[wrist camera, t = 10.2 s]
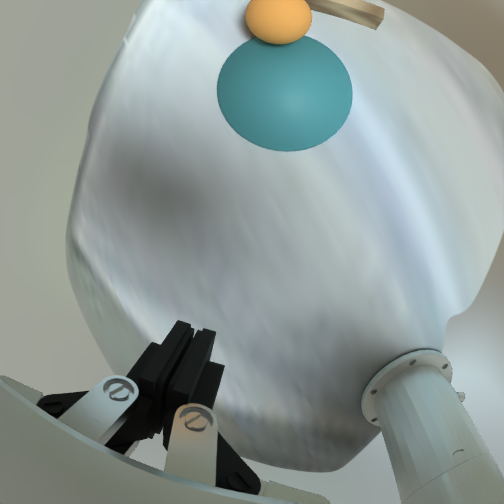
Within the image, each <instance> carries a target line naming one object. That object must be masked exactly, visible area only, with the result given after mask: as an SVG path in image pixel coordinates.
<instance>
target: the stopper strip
mask: <svg viewBox="0 0 504 504" xmlns="http://www.w3.org/2000/svg"><path fill="white" fill-rule="evenodd" d="M305 1H306V3H307V4H308V6H309V8H310V9H311V10H315V11H319V12H323V13H326V14H330V15H333V16H337V17H340V18H343V19H347V20H350V21H353V22H356V23H359V24H361V25H364V26H367V27H370V28H372V29H375V30H376V29H377V28H378V26H379V25H380V23H381V22H382V20H383V18H384V8H381V7H379V6H376V5H373V4H371V3H368V2H365V1H362V0H305Z"/></svg>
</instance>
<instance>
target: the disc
mask: <svg viewBox="0 0 504 504" xmlns="http://www.w3.org/2000/svg"><path fill="white" fill-rule="evenodd" d="M217 95H218V101H219V105H220V108H221V111H222V113H223V115H224V117H225V118H226V120H227V121H228V123H229V124H230V125H231V127H232V128H233V129H234V130H235V131H236V132H237V133H238V134H240V135H241V136H242V137H243V138H245V139H247V140H248V141H250V142H252V143H254V144H256V145H258V146H260V147H264V148H267V149H271V150H276V151H299V150H305V149H308V148H311V147H314V146H317V145H319V144H321V143H323V142H324V141H326V140H328V139H329V138H330V137H332V136H333V135H334V134H335V133H336V132H337V131H338V130H339V129H340V128H341V126H342V125H343V124H344V122H345V121H346V119H347V116H348V114H349V112H350V108H351V104H352V85H351V80H350V77H349V74H348V72H347V70H346V68H345V66H344V65H343V63H342V62H341V60H340V59H339V58H338V57H337V55H336V54H335V53H334V52H332V51H331V50H330V49H329V48H328V47H326V46H325V45H324V44H322V43H320V42H318V41H317V40H314V39H312V38H310V37H307V36H303V37H302V38H300V39H299V40H297V41H294V42H292V43H288V44H272V43H268V42H265V41H263V40H261V39H259V38H258V37H255V38H253V39H251V40H249V41H247V42H245V43H244V44H242V45H241V46H239V47H238V48H237V49H236V50H235V51H234V52H233V53H232V54H231V55H230V56H229V57H228V59H227V60H226V62H225V63H224V65H223V67H222V69H221V72H220V74H219V79H218V85H217Z"/></svg>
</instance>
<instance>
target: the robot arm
mask: <svg viewBox="0 0 504 504" xmlns="http://www.w3.org/2000/svg"><path fill="white" fill-rule="evenodd" d="M193 335H194V328H191V324H189V323H186V322H183V321H180V320H178V321H177V322H176V324H175V325H174V327H173V328H172V329H171V331H170V332H169V334H168V335H167V337H166V338H165V340H164V341H163V342H162V344H161V345H159V344H157V343H154V342H152V343H151V344H150V345H149V346H148V347H147V349H146V350H145V351H144V353H143V354H142V355H141V357H140V358H139V359H138V361H137V362H136V363H135V365H134V366H133V368H132V369H131V370H130V372H129V373H128V374H127V376H126V377H124V376H119V375H114V376H109V377H106V378H105V379H103V380H102V381H101V382H99V383H98V384H97V385H96V386H95V387H94V388H93V389H92V390H91V391H83V392H73V393H63V394H52V395H46V396H43V394H42V392H39V391H37V390H35V389H33V388H30V387H28V386H26V385H24V384H22V383H19V382H17V381H15V380H13V379H11V378H9V377H6V376H0V504H330V502H329V501H328V500H327V499H326V498H325V497H323V496H321V495H319V494H314V493H310V492H306V491H303V490H299V489H295V488H292V487H289V486H286V485H282V484H279V483H276V482H273V481H269V482H266V481H263V480H260V479H259V478H258V476H257V475H256V474H255V473H254V472H253V470H251V468H250V467H249V466H247V464H246V463H245V462H244V461H243V460H242V459H241V458H240V456H239V455H238V454H237V453H236V452H235V451H234V450H233V449H232V447H231V446H230V445H229V444H228V443H227V442H226V441H225V439H224V438H223V437H222V436H221V435H220V433H219V432H218V419H217V416H216V415H215V413H214V412H213V411H212V409H213V405H214V402H215V399H216V395H217V392H218V388H219V385H220V382H221V378H222V374H223V371H224V367H225V365H221V364H218V363H214V362H211V361H210V357H211V352H212V348H213V344H214V340H215V335H216V332H215V331H212V330H208V329H205V328H203V330H202V331H200V330H197V332H196V334H195V336H194V338H193ZM451 379H452V367H451V364H450V362H449V361H448V359H447V358H446V357H445V356H444V355H443V354H442V353H440V352H438V351H435V350H419V351H415V352H411V353H409V354H406V355H403V356H401V357H399V358H398V359H396V360H394V361H392V362H391V363H389V364H388V365H386V366H385V367H384V368H383V369H382V370H380V371H379V372H378V373H377V374H376V375H375V376H374V377H373V379H372V380H371V381H370V382H369V384H368V385H367V387H366V388H365V391H364V393H363V395H362V399H361V409H362V412H363V415H364V417H365V419H366V420H367V421H368V422H369V423H371V424H373V425H375V426H379V427H380V428H381V431H382V434H383V437H384V440H385V444H386V447H387V450H388V454H389V457H390V461H391V465H392V468H393V472H394V475H395V479H396V483H397V487H398V491H399V495H400V499H401V503H402V504H504V477H503V475H502V473H501V471H500V469H499V467H498V465H497V463H496V462H495V460H494V458H493V456H492V454H491V453H490V451H489V449H488V447H487V445H486V444H485V442H484V440H483V439H482V436H481V435H480V433H479V431H478V429H477V428H476V426H475V424H474V423H473V421H472V419H471V418H470V416H469V414H468V413H467V411H466V409H465V408H464V406H463V405H462V403H461V402H463V401H464V399H465V394H464V393H462V392H457V393H456V392H455V390H454V388H453V387H452V386H451V384H450V383H451ZM163 426H164V428H163ZM162 428H163V446H164V447H165V449H166V450H167V456H166V462H165V467H164V471H162V470H159V469H156V468H153V467H151V466H148V465H146V464H143V463H141V462H138V461H136V460H133V459H131V458H129V456H130V455H131V453H132V452H133V451H134V450H135V448H136V447H137V446H138V444H139V441H140V440H143V439H147V438H150V439H152V438H153V436H154V434H155V433H157V434H160V432H161V430H162Z"/></svg>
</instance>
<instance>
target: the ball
mask: <svg viewBox="0 0 504 504" xmlns="http://www.w3.org/2000/svg"><path fill="white" fill-rule="evenodd" d="M245 17H246V22H247V25H248V27H249V29H250V30H251V32H252V33H253V34H254V35H255V36H257V37H258V38H259V39H261V40H263V41H265V42H268V43H272V44H288V43H292V42H294V41H297V40H299V39H300V38H302V37H303V36H304V35H305V34H306V33H307V31H308V30H309V28H310V26H311V22H312V14H311V10H310V8H309V6H308V4H307V3H306V1H305V0H251V1H250V2H249V4H248V6H247V9H246V16H245Z"/></svg>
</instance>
